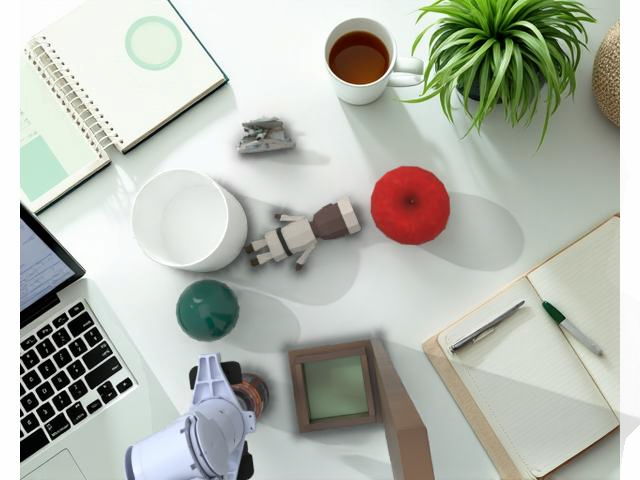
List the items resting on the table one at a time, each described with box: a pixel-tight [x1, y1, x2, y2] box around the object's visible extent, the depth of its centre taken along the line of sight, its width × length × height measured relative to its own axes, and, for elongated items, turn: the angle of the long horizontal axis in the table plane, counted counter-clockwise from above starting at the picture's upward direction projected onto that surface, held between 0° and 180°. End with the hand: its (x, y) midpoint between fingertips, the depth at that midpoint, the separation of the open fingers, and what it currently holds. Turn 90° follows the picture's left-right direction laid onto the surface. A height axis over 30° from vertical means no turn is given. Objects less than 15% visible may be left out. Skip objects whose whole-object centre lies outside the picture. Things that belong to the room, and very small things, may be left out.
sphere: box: [175, 278, 241, 343], centre depth 78 cm, size 8×8×8 cm
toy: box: [243, 195, 362, 272], centre depth 80 cm, size 8×5×15 cm
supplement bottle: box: [230, 372, 270, 421], centre depth 75 cm, size 6×6×11 cm
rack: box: [287, 337, 436, 480], centre depth 52 cm, size 11×12×57 cm
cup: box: [130, 167, 248, 273], centre depth 77 cm, size 12×12×12 cm
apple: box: [370, 165, 451, 246], centre depth 77 cm, size 10×10×11 cm
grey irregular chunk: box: [235, 115, 297, 154], centre depth 81 cm, size 4×8×7 cm, turn 97°
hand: (234, 410), depth 71 cm, fingers open, 7 cm apart
